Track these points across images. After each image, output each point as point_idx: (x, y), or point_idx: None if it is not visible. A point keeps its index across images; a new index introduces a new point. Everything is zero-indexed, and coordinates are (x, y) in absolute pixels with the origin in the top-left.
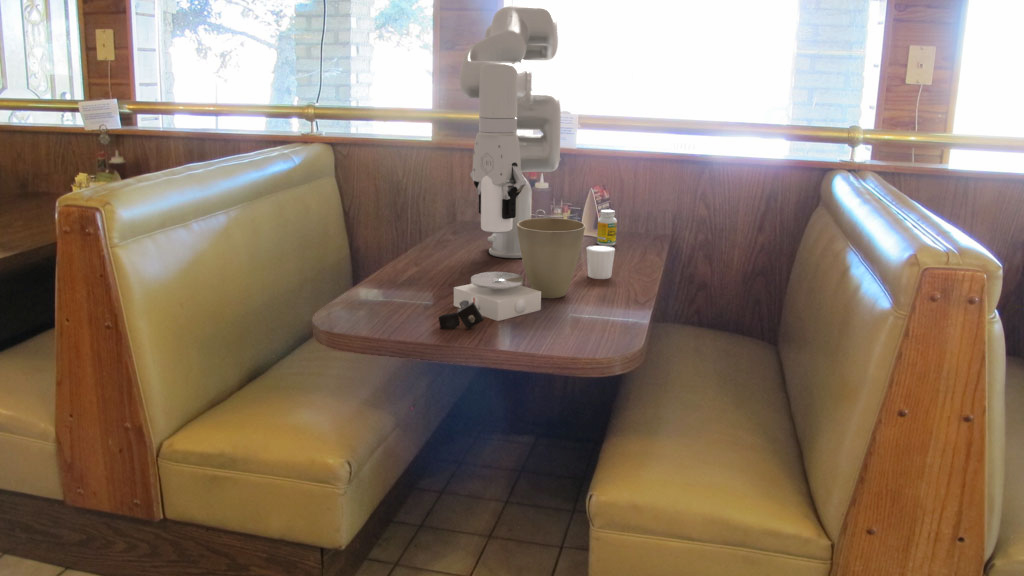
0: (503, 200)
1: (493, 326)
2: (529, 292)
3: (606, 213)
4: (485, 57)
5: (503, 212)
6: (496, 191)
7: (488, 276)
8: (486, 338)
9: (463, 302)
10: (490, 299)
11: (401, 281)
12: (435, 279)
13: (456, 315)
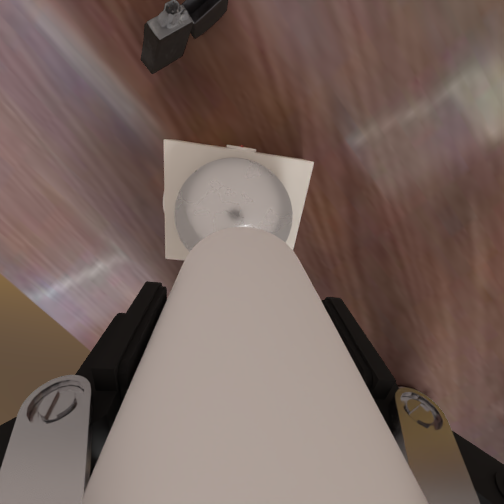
0: (106, 361)
1: (154, 103)
2: (174, 239)
3: None
4: None
5: (140, 300)
6: (133, 420)
7: (259, 219)
8: (96, 15)
9: (165, 5)
10: (190, 143)
11: (471, 212)
12: (421, 259)
13: (183, 4)
